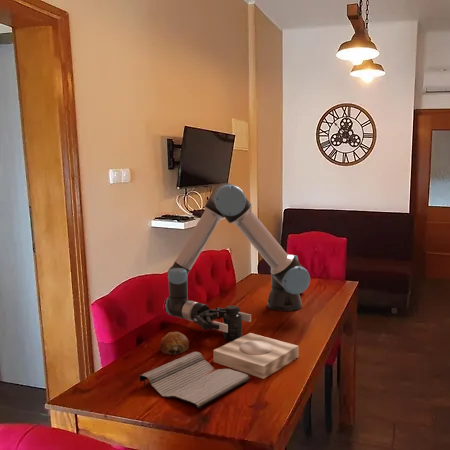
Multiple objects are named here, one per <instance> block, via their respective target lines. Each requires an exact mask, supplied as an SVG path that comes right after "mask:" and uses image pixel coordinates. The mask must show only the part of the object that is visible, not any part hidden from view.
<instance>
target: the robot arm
mask: <svg viewBox="0 0 450 450" xmlns="http://www.w3.org/2000/svg"><path fill="white" fill-rule="evenodd" d="M252 207H253V204H252V203H251V201H250V200H249V199H248V198H247V197H246V195H245V192H244V191H243V190H242V188H240V187H239V186H238V185H235V184H231V183H229V182H224V183H223V182H222V183H220V184H217V185H216V186H215V187H214V189H212V191H211V193H210V195H209V198H208V200H207V201H206V203H205V205H204V212H203V214H202V215H201V216H200V219H199V220H198V222H197V223H196V225H195V227H194V228H193V230H192V232H191V233H190V235H189V237H188V239H187V240H186V242H185V244H184V245H183V247H182V249H181V250H180V253H179V254H178V256H177V257H176V259H175V261H174V262H173V264H172V266H170V267H169V269H168V270H167V274H168V276H167V280H168V281H167V282H168V293H169V294H168V297H167V298H166V299H167V300H166V299H165V300H166V304H165V308H166V312H167V313H168V314H167V313H166V312H165V313H166V314H167V315H169V316H172V317H175V318H179V319H183V320H186V321H189V322H193V323H194V324H197V325H198V326H200V328H202V329H203V330H205V331H206V330H208V331H210V332H212V331H213V330H217V331H220V332H223V333H224V332H226V333H227V332H228V324H224V323H223V322H220V321H216V320H221V319H223V316H224V315H225V314H226V307H225V308H223V307H217V306H216V307H215V309H214V308H210V306H208V305H207V304H205V303H201V302H198V301H194V300H189V298H188V297H189V295H188V291H189V290H188V277H189V276H188V275H189V274H190V271H191V270H192V268H193V266H194V264H195V263H196V262H197V259H199V256H200V254H201V252H202V251H203V249H204V248H205V246H206V245H207V242H208V241H209V239H210V238H211V236H212V234H213V233H214V231H215V229H216V228H217V226H218V224H219V222H220V221H221V220H223V219H225V220H226V221H227V222H228V223H229V224H233V225H235V227H236V228H238V230H239V231H240V232H241V233H242V234H243V235H244V236H245V238H246V239H247V240H248V242H249V243H250V244H251V245H252V247H254V249H255V250H256V251H257V253H259V255H260V256H261V257H262V258H263V260H265V262H266V263H267V264H268V265H269V267H270V274H271V275H270V278H271V279H270V281H271V285H270V287H271V289H270V292H269V296H268V298H267V302H266V303H267V304H266V305H267V308H269V309H270V310H273V311H278V312H292V311H293V312H294V311H297V310H300V309H301V308H302V306H303V305H302V303H303V301H302V299H301V295H300V294H302V293H304V292H305V291H306V290H307V289H308V288H309V286H310V283H311V275H310V273H309V272H308V269H306V268H305V267H304V266H303V265H302V264H301V263H300V262H299V257H298V255H295V254H289V253H288V252H286V251H285V249H284V248H283V247H282V245H281V244H280V243H279V242H278V241H277V239H276V238H274V236H273V235H272V234H271V232H270V231H269V230H268V229H267V227H266V226H265V225H264V223H263V222H262V221H261V220H260V219H259V218H258V216H257V215H256V214H255V213H254V211H253V210H252ZM171 298H172V299H171ZM238 313H239V314H241V316H242V322H243V321H244V322H248V323H251V322H252V314H250V313H246V312H242V311H241V309H240V308H239V312H238Z"/></svg>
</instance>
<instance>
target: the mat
mask: <svg viewBox="0 0 450 450" xmlns="http://www.w3.org/2000/svg"><path fill="white" fill-rule="evenodd" d="M138 379H139V382H144V383H143V384H144V386H146V380H148V382H149V385H150V386H151V387H152V388H153V389H154V390H155V391H156V392H157V394H159V395H160V396H162V397H163V398H167V399H168V398H176V399H179V400H181V401H183V402H187V403H189V404H193V405H195V406H196V408H198V409H201V408H202V406H204V405H207V404H208V403H211V402H212V401H214V400H215V399H218V398H219V397H221V396H222V395H224V394H226V393H229V392H230V391H232V390H234V389H236V388H237V387H239V386H241V385H242V384H244V383H248V382H249V380H251V377H250V374H248V373H245V372H242V371H239V370H236V369H232V368H222V369H221V368H218V369H215V367H214V366H212V365H211V363H210V362H208V361H207V360H206V359H205V358H204V356H203V355H202V353H201V352H199V351H192V352H190V353H187V354H185V355H183V356H181V357H179V358H177V359H174V360H172V361H170V362H167V363H165V364H162V365H160V366H158V367H155V368H152V369H151V370H148V371H146V372H144V373H142V374H139V377H138Z"/></svg>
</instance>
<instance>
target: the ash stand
mask: <svg viewBox="0 0 450 450" xmlns="http://www.w3.org/2000/svg"><path fill="white" fill-rule="evenodd" d="M299 347H300V345H296V344H293V343H290V342H285V341H281V340H279V339H274V338H271V337H267V336H262V335H260V334H255V333H252V332H248V333H247V334H245V335H242V337H240V338H238V339H236V340H234V341H229V342H228V343H225V344H224V345H222V346H219V347H218V348H215V349H213V350H212V351H213V352H212V354H213V355H212V356H213V359H212V360H213V363H214V364H215V363H216V364H219V365H222V366H225V367H228V368H229V369H232V370H235V371H238V372H241V373H244V374H247V375H250V376H253V377H256V378H260V379H264V380H265V379H266V378H267V377H270V376H271V375H272V374H274V373H276V372H278V371H279V370H280V369H282V368H284V367H285V366H287V365H289V364H290V363H292V362H294V361H296V360H297V359H298V358H299V356H300V355H299V352H300V351H299ZM296 358H297V359H296ZM293 360H294V361H293Z"/></svg>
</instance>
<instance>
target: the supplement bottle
mask: <svg viewBox="0 0 450 450" xmlns="http://www.w3.org/2000/svg"><path fill="white" fill-rule="evenodd" d="M225 308H226V314H225V315H224V316H223V318H222V321H223V322H222V323H224V324H228V332H227V333H226V332H223V339H224V340H225V341H227V342H232V341H234V340H236V339H238V338H240V337H242V336H243V320H242V316H241V314H239V313H238V312H239V309H240V307H239V306H238V305H234V304H233V305H232V304H231V305H226V306H225Z"/></svg>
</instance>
